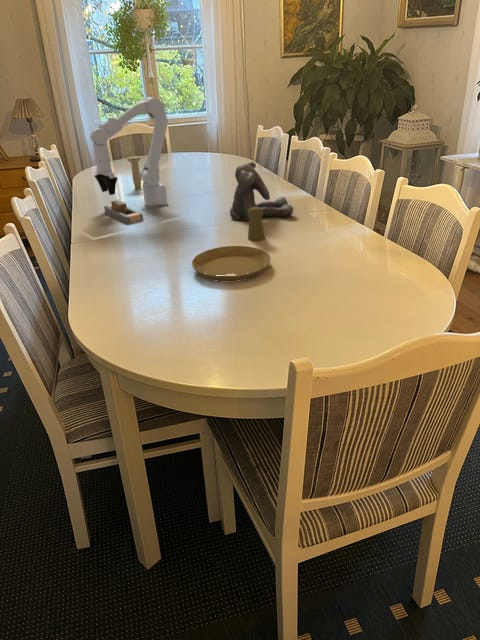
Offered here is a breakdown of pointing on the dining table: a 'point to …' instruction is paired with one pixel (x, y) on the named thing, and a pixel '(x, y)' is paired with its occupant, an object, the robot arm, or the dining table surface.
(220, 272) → the plant saucer
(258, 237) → the cork
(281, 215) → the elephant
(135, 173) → the handle
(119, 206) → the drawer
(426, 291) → the dining table surface
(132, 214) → the rail
